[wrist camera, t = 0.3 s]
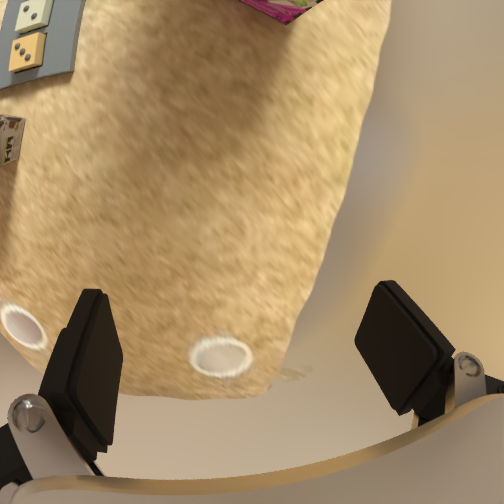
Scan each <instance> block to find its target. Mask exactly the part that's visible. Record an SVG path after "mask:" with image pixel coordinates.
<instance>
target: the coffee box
mask: <svg viewBox="0 0 504 504" xmlns="http://www.w3.org/2000/svg"><path fill="white" fill-rule="evenodd" d="M24 124H25V118H23V117H17V116H10V115H3V114H0V167H1V166H3V165H5V164H7V163H10V162H12V161H14V160H17V159H18V157H19V151H20V145H21V139H22V134H23V129H24Z"/></svg>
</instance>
